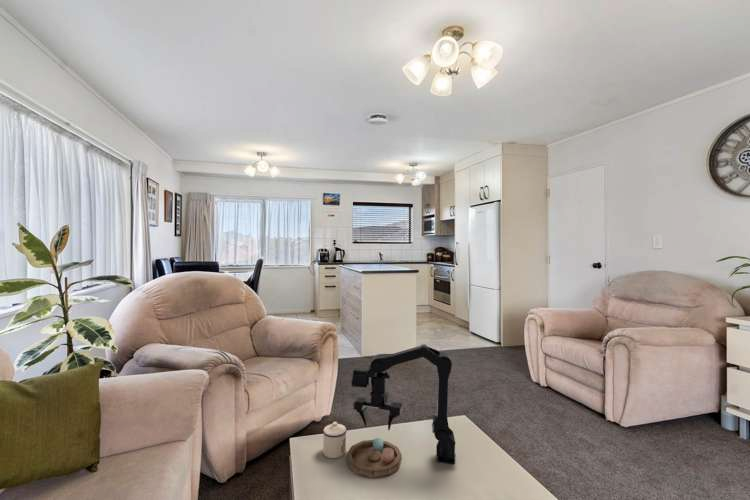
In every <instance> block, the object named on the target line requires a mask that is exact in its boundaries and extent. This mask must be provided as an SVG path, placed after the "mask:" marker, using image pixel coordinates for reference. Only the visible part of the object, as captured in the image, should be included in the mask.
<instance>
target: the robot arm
mask: <svg viewBox="0 0 750 500" xmlns="http://www.w3.org/2000/svg"><path fill="white" fill-rule="evenodd" d="M421 358H424V359H426V360H427V361H428V362H430V363H431V364H432V365H435V366H436V372H437V399H436V401H437V404H436V405H437V406H436V414H435V415H433V414H432V423H431V429H432V431H431V432H432V434H434V435H433V436H434V439H436V440H437V441H438V442H437V443H436V451H435V453H436V455H435V457H436V458H437V459H436V460H437V462H441V463H445V464H446V463H447V464H451V465H452V464H453V465H454V464H456V457H457V456H456V455H457V454H456V439H455V438H456V437H455V433H454V431H453V430H452V429H451V428H450V427H449V420H448V396H449V394H448V393H449V391H448V390H449V378H450V375H451V371H452V366H453V364H452V359H451V356H450V355H449V353H447V352H446V351H439V350H437V349H435V348H433V347H430V346H428V345H426V344H420V345H419V346H415V347H412V348H407V349H403V350H401V351H397V352H395V353H379V354H376V355H373V357H372V360H371V362H370V365H369V366H368V367H367V369H358V368H354V369H353V372H352V377H351V378H352V379H351V387H352V388H364V389H366V388H367V387H368V386H370V394H369V395H370V401H368V398H366V397H360V396H359V397H357V398H356V399H355V401H354V402H353V410H354V411H356V412H357V413H359V415H360V417H361V419H362V422H363V424H364V425H365V427H368V423H369V421H368V420H369V419H368V408H369V409H370V408H372V409H378V410H384V411H389V413H388V419H387V421H388V422H387V431H390V429H391V426H392V424H393V422H394V418H396V419H397V417H399V416H401V414H402V412H403V406H404V405H403V404H402V403H401V402H396V401H392V403H391V404H386V403H388V401H389V394H390V392H388V391H387V387H386V385H387V384H386V383H387V382H386V381H387V380H386V379H390V378H391V376H392V375H391V373H390V372H388V370H389V369H390V368H391V369H392V367H394V366H396V365H400V364H403V363H406V362H410V361H411V362H412V361H414V360H418V359H421Z"/></svg>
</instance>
